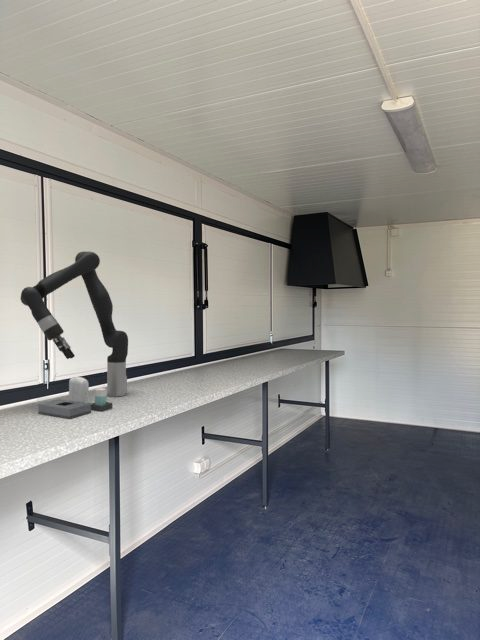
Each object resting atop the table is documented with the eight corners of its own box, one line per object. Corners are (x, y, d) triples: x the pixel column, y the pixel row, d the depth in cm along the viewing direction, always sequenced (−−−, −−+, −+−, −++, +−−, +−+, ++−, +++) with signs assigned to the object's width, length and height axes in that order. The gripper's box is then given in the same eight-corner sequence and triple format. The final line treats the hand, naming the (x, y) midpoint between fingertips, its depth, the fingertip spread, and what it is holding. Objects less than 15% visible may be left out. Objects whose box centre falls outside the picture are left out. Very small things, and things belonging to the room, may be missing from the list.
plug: (100, 407, 206) (100, 388, 206) (106, 408, 205) (106, 388, 204) (94, 409, 203) (94, 389, 203) (101, 410, 201) (101, 390, 201)
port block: (60, 407, 205) (60, 399, 205) (91, 412, 197) (91, 403, 197) (38, 413, 194) (38, 404, 194) (69, 418, 186) (69, 409, 186)
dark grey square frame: (100, 406, 209) (100, 401, 208) (112, 408, 206) (112, 402, 205) (88, 409, 202) (88, 404, 202) (101, 411, 199) (101, 405, 199)
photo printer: (90, 403, 214) (90, 377, 213) (82, 405, 210) (82, 378, 210) (74, 401, 219) (74, 375, 219) (67, 402, 215) (67, 376, 215)
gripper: (54, 322, 197) (76, 353, 198) (61, 323, 211) (81, 352, 212) (39, 331, 195) (60, 363, 196) (46, 332, 209) (66, 361, 210)
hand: (71, 357), depth 204 cm, fingers open, 8 cm apart
